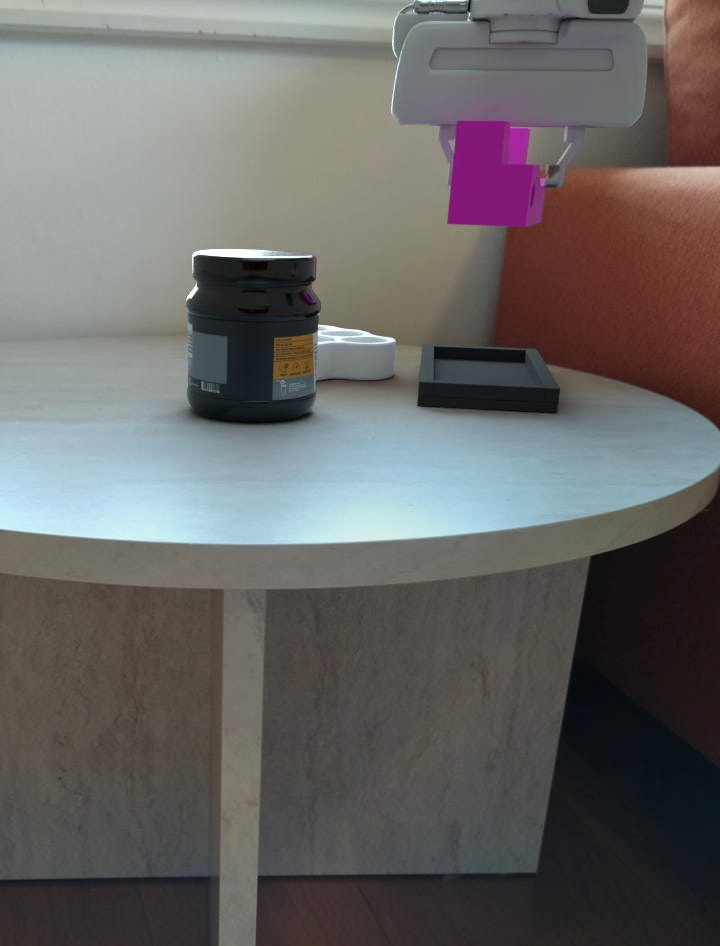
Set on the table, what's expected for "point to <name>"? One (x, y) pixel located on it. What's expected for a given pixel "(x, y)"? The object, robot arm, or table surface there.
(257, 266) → the supplement container
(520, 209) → the toy block
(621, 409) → the table surface
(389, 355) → the white well tray
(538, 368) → the socket pad
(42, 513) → the table surface
